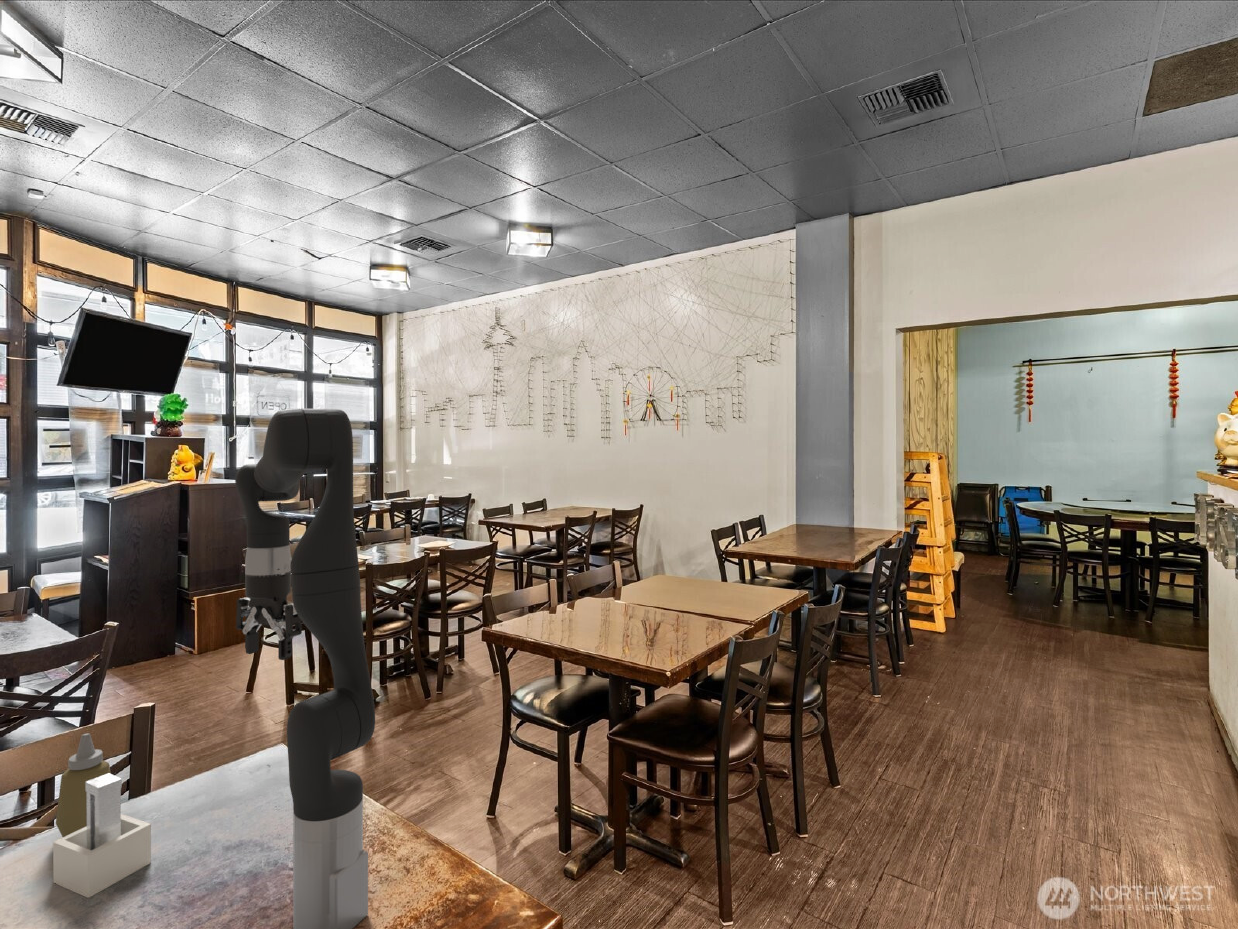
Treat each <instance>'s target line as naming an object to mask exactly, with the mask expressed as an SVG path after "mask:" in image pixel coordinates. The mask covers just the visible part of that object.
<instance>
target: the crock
mask: <svg viewBox="0 0 1238 929" xmlns="http://www.w3.org/2000/svg"><path fill="white" fill-rule="evenodd" d="M52 843H53V844H52V847H53V848H52V850H53V852H52V853H53V854H52V855H53V858H52V859H53V862H52V863H53V864H52V865H53V866H52V867H53V869H52V870H53V876H52V877H53V883H54V884H55V883H56V884H55V885H58V886H60V887H62V888H64V889H67V890H69V891H71V892H74V893H76V894H78V895H81V896H83V897H85V898H88V899H89V898H91V897H92V896H95V895H96V894H98V893H100V892H101V891H103V890H105V889H107V888H109V887H111V886H113V885H114V884H116V883H118V882H119V881H121V880H123V879H125V878H126V877H128V876H130V875H132V874H134V873H135V872H137V871H139V870H141V869H143V868H144V867H146V866H147V865H149V864H151V863H152V824H151V823H149V822H147V821H143V820H141V819H138V818H135V817H132V816H129V815H126V814H123V813H121V836H119V837H118V838H116V839H114V840H112V841H110V842H108V843H106V844H104V845H102V846H100V847H98V848H96V849H94V850H89V849H87V826H86V827H84V828H82V829H80V830H78V831H76V832H73V833H71V834H69V835H67V836H65V837H62V838H59V839H56V840H54V841H53V842H52Z"/></svg>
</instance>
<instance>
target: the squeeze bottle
mask: <svg viewBox="0 0 1238 929" xmlns="http://www.w3.org/2000/svg"><path fill="white" fill-rule="evenodd" d="M79 739H80V740H79V743H78V747H77V751H76V753H75V754H73V755H71V756H70V757H69V759H68V762H67V764H68V768H67V769H66V770H65V771H64V772H63V773H62V774H61V777H60V784H59V786H60V787H59V793H58V799H57V800H58V802H57V808H56V809H57V811H56V817H55V825H56V827H57V828H58V831H59V832H60V834H61V837H62V838H63V837H65V836H67V835H69V834H71V833H73V832H76V831H78V830H80V829H82V828H84V827H86V826H87V792H86V784H85V782H87V781H89V780H92V779H94V778H97V777H100V776H102V775H105V774H108V773H110V774H112V772H111V766H110V763H109V762H108V761H106V760H104V755H103V752H104V751H102V749H98V748H97V749H95V746H94V743H93V739H92V736H91V734H90V733H84V734H81V736H80V738H79Z"/></svg>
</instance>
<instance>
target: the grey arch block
mask: <svg viewBox="0 0 1238 929" xmlns="http://www.w3.org/2000/svg"><path fill="white" fill-rule="evenodd" d="M122 781H123V780H122V778H120V777H118V776H116V775H114V774H112V773H111V774H110V773H108V774H105V775H102V776H100V777H97V778H94V779H92V780H89V781H87V782H85V784H86V792H87V849H89V850H94V849H96V848H98V847H100V846H102V845H104V844H106V843H108V842H110V841H112V840H114V839H116V838H118V837H119V836H121V814H122V809H121V805H122V803H121V802H122V796H121V793H122V792H121V791H122V788H123V787H122V785H123V783H122Z"/></svg>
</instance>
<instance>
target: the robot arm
mask: <svg viewBox="0 0 1238 929" xmlns="http://www.w3.org/2000/svg"><path fill="white" fill-rule="evenodd" d="M267 425H268V426H267V430H266V434H265V435H266V436H265V440H264V445H263V451H262V456H261V458H260V459H259V460H258V462H257V463H248V464H244V465H241V467H240V468H239V469H238V471H237V472H236V475H235V478H234V482H235V488H236V491H237V494H238V497H239V499H240V502H241V506H242V509H243V512H244V517H245V524H246V553H245V558H244V560H245V561H244V563H245V565H244V567H245V568H244V570H245V572H244V574H245V576H244V579H245V580H244V582H245V583H244V589H245V591H244V595H245V596H246V597H242V598H238V599H237V600H236V615H235V616H236V620H235V628H236V630H237V631H240V630H241V631H242V633H243V635H244V644H245V645H244V647H245V648H244V649H245V654H247V655H252V654H255V653H257V652H259V649H260V646H259V645H260V642H259V641H260V640H259V639H260V638H259V637H260V633H259V632H258V631H259V630H260V628H261V627H262V625H263V624H264V625H265V626H270V628H271V630H272V631H274V632H275V634H276V635H277V638H278V642H277V643H278V646H277V647H278V649H277V650H278V656H277V657H278V660H281V661H284V660H287V659H290V658H291V657H292V654H293V638H294V637H298V636H300V635H302V633H303V627H302V622H303V624H304V626H306V628H307V629H308V630H309V632H310V633H311V634H312V635H313V636H314V637H315V639H316V640H317V641H318V642H319V644H320V645H321V646H322V648H323V649H324V650H325V653H326V655H327V656H328V659H329V662H330V666H331V672H332V676H333V690H330V691H327V692H324V693H321V694H318V695H315V696H313V697H310V698H307V699H303V700H301V701H299V702H297V703H296V704H294V706H293V707H292V708H291V710H290V712H289V715H288V718H287V724H286V727H287V728H286V743H287V757H288V758H287V760H288V778H289V781H288V782H289V790H290V794H291V798H292V806H293V807H292V808H293V809H292V810H293V815H292V816H293V820H292V821H293V823H292V825H293V828H292V829H293V833H292V838H293V839H292V840H293V841H292V842H293V843H292V846H293V847H292V850H293V851H292V852H293V853H292V854H293V855H292V857H293V859H292V866H293V867H292V868H293V869H292V877H293V878H292V887H293V888H292V906H293V909H292V912H293V913H292V923H293V924H292V925H293V926H292V929H354V928H355V927H356V926H357V925H358V924H359V923H360V922H361V921H363V920H364V919H365V918H366V917H367V916H368V915H369V853H368V851H367V850H364V849H363V846H364V845H363V842H364V841H363V839H364V837H363V836H364V835H363V834H364V833H363V832H364V830H363V826H364V823H363V820H364V818H363V817H364V814H363V812H364V809H363V808H364V799H363V798H364V784H363V780H362V777H361V776H360V775H359V774H358V773H357V772H353V771H351V770H347V769H331V767H332V766H331V761H333V760H334V759H337V758H339V757H342V756H343V755H346V754H348V753H351V752H353V751H356V750H358V749H360V748H361V747H363V746H365V745H367V743H369V742H371V739H372V738H373V736H374V731H375V729H376V728H375V727H376V707H375V701H374V700H375V699H374V694H373V687H372V682H371V676H370V671H369V665H368V664H369V663H368V658H367V653H366V645H365V637H364V636H365V635H364V627H363V615H362V599H361V598H362V597H361V596H362V595H361V576H360V566H359V565H360V564H359V563H360V562H359V556H358V555H359V553H358V547H357V536H356V526H355V514H354V513H355V510H354V438H353V429H352V425H351V421H350V418H349V415H348V414H347V413H346V412H345V411H344V410H342V409H337V408H286V409H285V408H284V409H281V410H278V411H277V412H275V413H274V414H273V416H272V417H271V419H270V421H269V423H268V424H267ZM317 470H326V475H327V476H326V485H325V489H324V493H323V497H322V500H321V503H320V504H319V507H318V509H317V511H316V513H315V514H314V516H313V518H312V520H311V521H310V523H309V525H308V527H307V528H306V530H305V531H304V533H303V535H302V537H300V540H299V541H298V543H297V545H296V547H295V548H294V551H293V553H292V554H291V548H290V547H291V546H290V539H291V538H290V534H291V533H290V531H291V530H290V529H291V528H290V525H291V524H290V519H289V516H287V515H284V514H282V513H276V512H275V513H274V512H269V511H264V510H263V509H262V508H261V506H260V504H259V503H260V502H283V501H290V500H293V499H294V498H296V497H297V495H298V494H299V491H300V486H301V479H302V478H303V477H304V475H305V473H306V471H317ZM290 593H291V594H292V595H291V596H292V603H288V600H287V596H288V595H289V594H290ZM244 617H245V621H244ZM293 625H294V626H293ZM293 628H294V629H293ZM284 630H285V631H284Z"/></svg>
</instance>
